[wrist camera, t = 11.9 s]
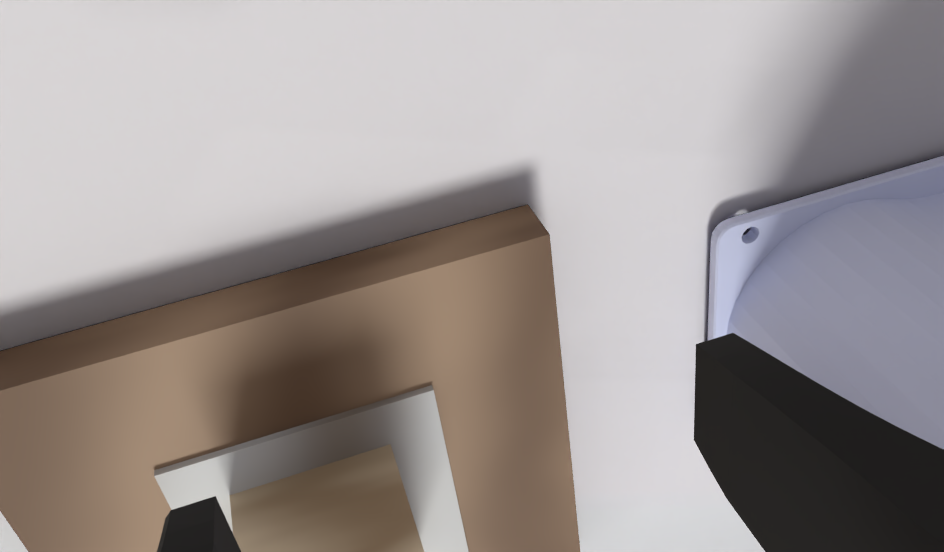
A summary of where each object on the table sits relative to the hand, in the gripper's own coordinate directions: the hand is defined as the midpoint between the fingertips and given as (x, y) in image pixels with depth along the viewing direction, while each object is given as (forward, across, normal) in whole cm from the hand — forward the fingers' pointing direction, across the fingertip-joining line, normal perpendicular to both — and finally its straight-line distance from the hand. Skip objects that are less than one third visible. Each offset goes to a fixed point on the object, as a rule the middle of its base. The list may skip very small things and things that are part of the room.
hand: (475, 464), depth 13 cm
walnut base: (+9, +3, +9) cm, 13 cm away
